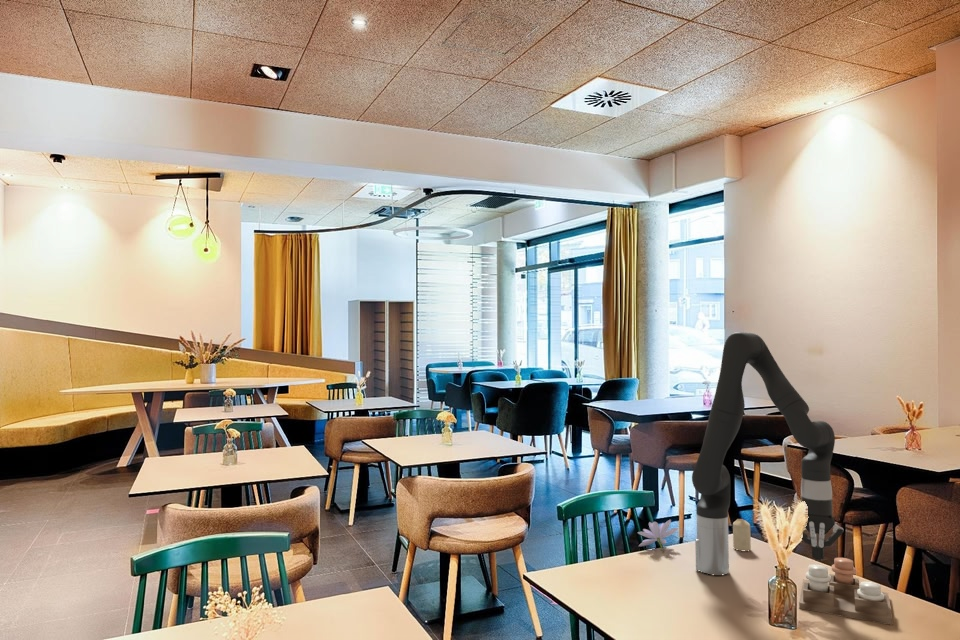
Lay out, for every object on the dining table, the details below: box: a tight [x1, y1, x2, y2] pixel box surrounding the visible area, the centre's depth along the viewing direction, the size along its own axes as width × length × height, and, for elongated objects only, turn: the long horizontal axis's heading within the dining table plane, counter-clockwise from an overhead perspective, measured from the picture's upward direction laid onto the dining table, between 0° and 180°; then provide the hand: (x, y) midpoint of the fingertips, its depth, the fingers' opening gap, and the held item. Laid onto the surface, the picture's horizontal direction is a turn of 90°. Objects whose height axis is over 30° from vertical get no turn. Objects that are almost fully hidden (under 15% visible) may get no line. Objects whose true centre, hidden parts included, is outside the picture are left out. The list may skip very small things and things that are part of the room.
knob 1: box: [805, 564, 831, 592], centre depth 173 cm, size 6×6×6 cm
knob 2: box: [857, 581, 884, 602], centre depth 167 cm, size 6×6×6 cm
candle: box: [732, 518, 752, 552], centre depth 219 cm, size 6×6×10 cm
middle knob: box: [831, 557, 857, 584], centre depth 179 cm, size 6×6×6 cm
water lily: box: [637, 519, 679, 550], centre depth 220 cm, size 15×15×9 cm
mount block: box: [798, 573, 894, 626], centre depth 174 cm, size 21×19×4 cm
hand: (818, 560), depth 174 cm, fingers closed
